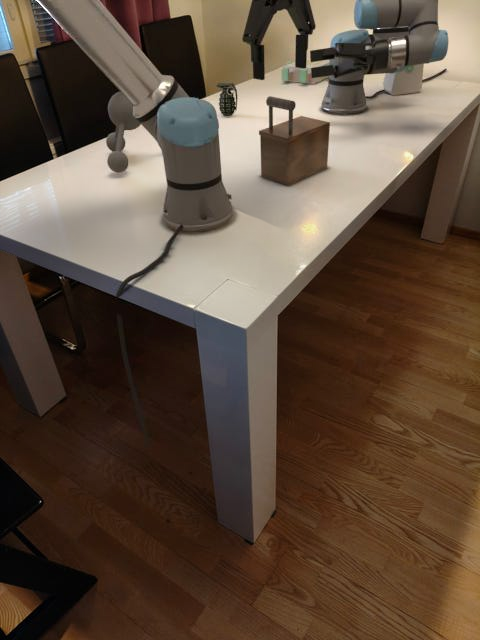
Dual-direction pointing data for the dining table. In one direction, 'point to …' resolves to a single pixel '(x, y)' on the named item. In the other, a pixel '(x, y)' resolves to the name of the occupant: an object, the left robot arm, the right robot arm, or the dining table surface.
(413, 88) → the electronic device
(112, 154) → the molecular model
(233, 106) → the grenade
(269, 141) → the chest
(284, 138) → the lid
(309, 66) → the decorative block
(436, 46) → the right robot arm
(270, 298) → the dining table surface
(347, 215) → the dining table surface
